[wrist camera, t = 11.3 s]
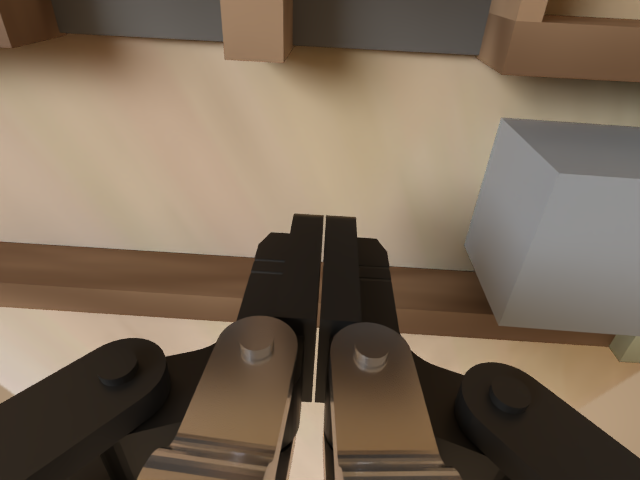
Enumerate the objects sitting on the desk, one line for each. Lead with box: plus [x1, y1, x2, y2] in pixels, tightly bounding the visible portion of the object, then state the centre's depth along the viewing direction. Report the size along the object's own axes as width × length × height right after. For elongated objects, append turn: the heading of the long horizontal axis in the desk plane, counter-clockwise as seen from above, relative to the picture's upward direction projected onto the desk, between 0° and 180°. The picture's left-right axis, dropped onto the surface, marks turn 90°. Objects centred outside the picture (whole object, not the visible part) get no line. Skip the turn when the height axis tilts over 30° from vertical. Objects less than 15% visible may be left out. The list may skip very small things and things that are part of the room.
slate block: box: [464, 118, 640, 336], centre depth 13 cm, size 5×5×4 cm
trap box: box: [0, 0, 640, 363], centre depth 11 cm, size 18×26×3 cm
